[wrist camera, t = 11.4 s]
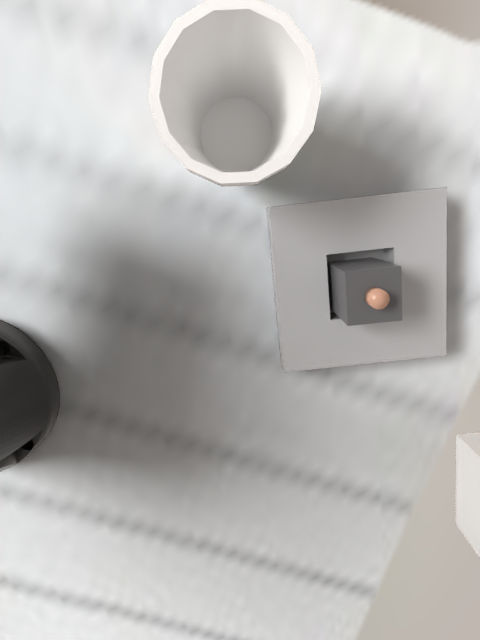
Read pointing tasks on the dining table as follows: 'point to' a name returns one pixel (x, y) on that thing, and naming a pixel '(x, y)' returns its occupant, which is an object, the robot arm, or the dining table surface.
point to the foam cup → (234, 91)
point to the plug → (365, 290)
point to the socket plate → (354, 243)
